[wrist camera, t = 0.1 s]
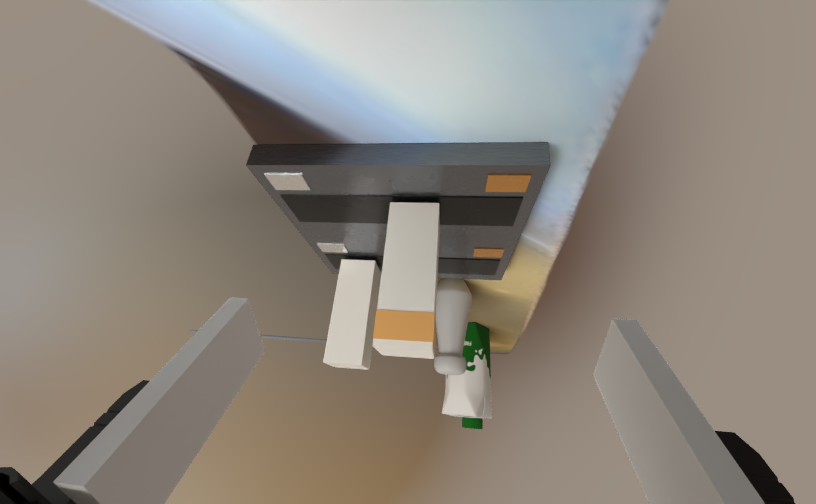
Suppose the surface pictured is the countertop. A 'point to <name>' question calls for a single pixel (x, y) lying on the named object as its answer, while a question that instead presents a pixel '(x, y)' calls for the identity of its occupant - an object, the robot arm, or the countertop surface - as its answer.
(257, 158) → the panel
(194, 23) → the countertop surface
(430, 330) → the handle
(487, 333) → the milk carton
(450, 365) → the salt shaker
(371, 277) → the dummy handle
